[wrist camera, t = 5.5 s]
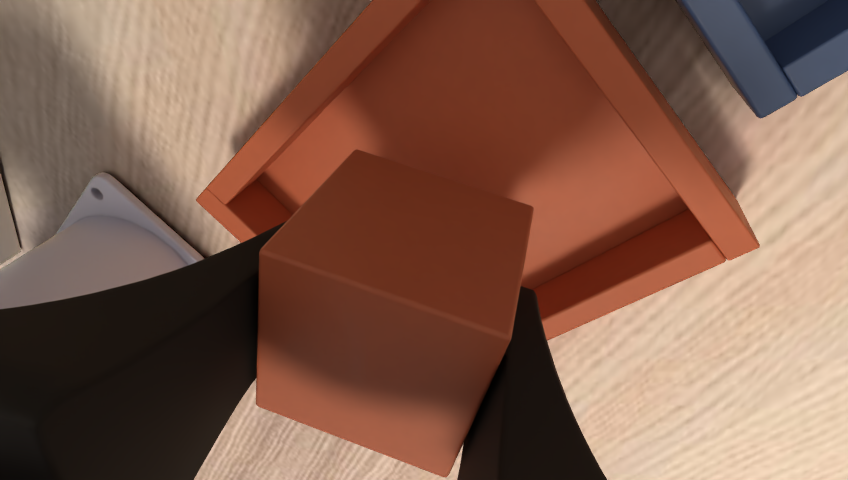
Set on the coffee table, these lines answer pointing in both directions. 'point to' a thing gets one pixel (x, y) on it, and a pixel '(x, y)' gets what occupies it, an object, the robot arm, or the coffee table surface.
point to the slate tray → (773, 45)
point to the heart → (7, 229)
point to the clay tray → (505, 144)
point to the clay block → (390, 308)
